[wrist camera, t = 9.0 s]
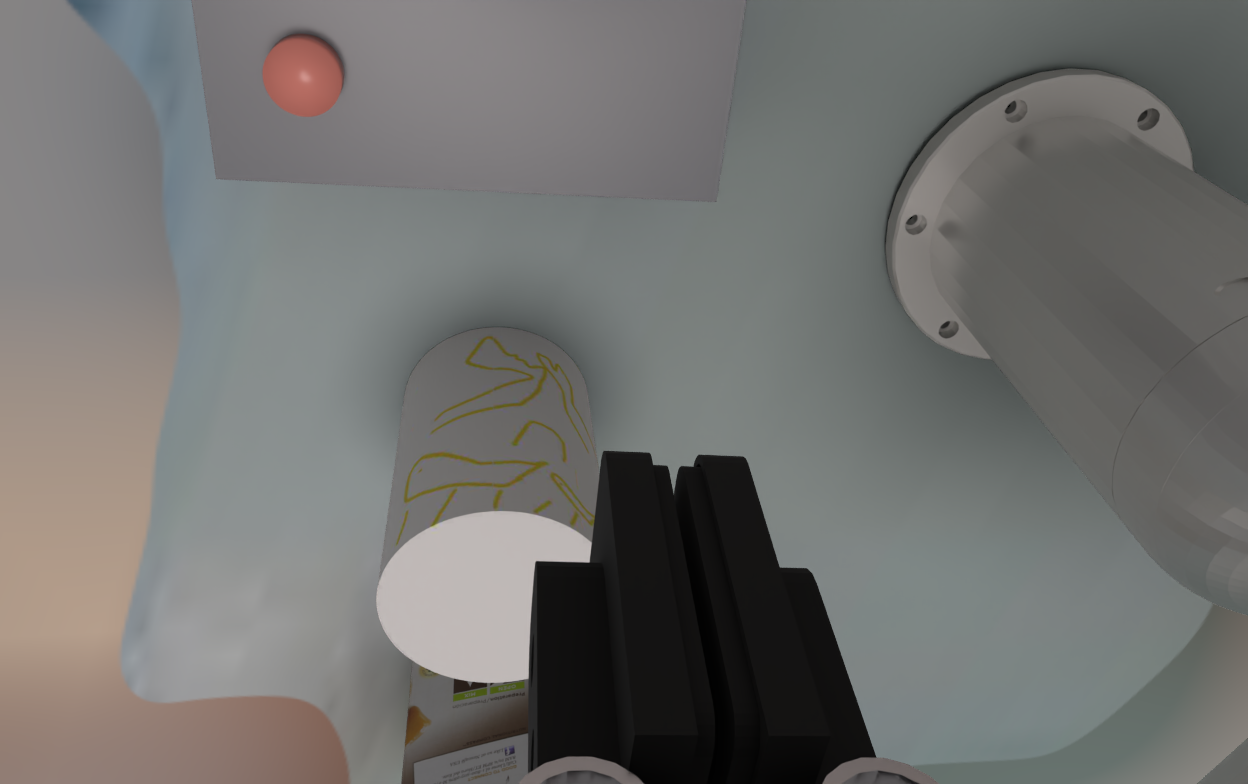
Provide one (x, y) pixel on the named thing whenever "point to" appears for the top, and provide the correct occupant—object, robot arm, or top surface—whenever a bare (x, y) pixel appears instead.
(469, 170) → the camera body
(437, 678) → the coffee box
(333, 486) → the top surface
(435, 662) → the cup
